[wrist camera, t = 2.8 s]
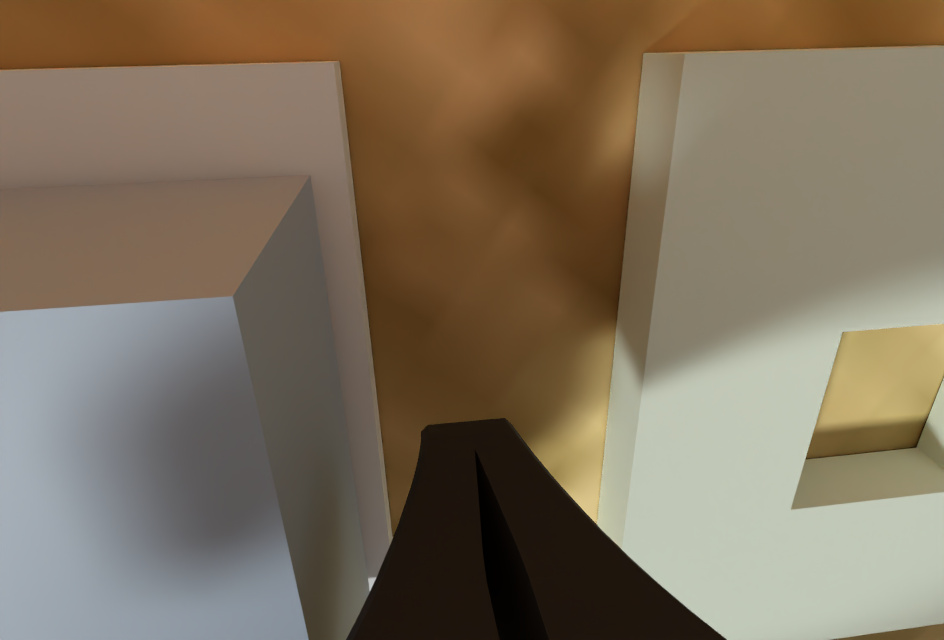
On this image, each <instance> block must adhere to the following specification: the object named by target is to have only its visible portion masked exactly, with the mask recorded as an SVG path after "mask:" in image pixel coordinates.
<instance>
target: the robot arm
mask: <svg viewBox="0 0 944 640" xmlns="http://www.w3.org/2000/svg"><path fill="white" fill-rule="evenodd" d="M346 640H727V639H726V638H724V637H723V636H722V635H721V634H719V633H718V632H717V631H716V630H714V629H713V628H712V627H711V626H709V625H708V624H707V623H705V622H704V621H703V620H702V619H700V618H699V617H698V616H697V615H695V614H694V613H693V612H692V611H690V610H689V609H688V608H687V607H686V606H685V605H683V604H682V603H681V602H680V601H679V600H677V599H676V598H675V597H674V596H673V595H672V594H670V593H669V592H668V591H667V590H666V589H665V588H663V587H662V586H661V585H660V584H659V583H658V582H656V581H655V580H654V579H653V578H652V577H651V576H650V575H649V574H648V573H646V572H645V571H644V570H643V569H642V568H641V567H640V566H639V565H638V564H637V563H636V562H634V561H633V560H632V559H631V558H630V557H629V556H628V555H627V554H626V553H625V552H624V551H623V550H622V549H621V548H620V547H619V546H618V545H617V544H616V543H615V542H614V541H613V540H612V539H611V538H610V537H609V536H608V535H607V534H605V533H604V532H603V531H602V530H601V529H600V527H599V526H598V525H597V524H596V523H595V522H594V521H593V520H592V519H591V518H590V517H589V516H588V515H587V514H586V513H585V512H584V511H583V510H582V509H581V507H580V506H579V505H578V504H577V503H576V502H575V501H574V500H573V499H572V498H571V497H570V495H569V494H568V493H567V492H566V491H565V490H564V489H563V488H562V487H561V486H560V484H559V483H558V482H557V481H556V480H555V479H554V477H553V476H552V475H551V474H550V473H549V472H548V470H547V469H546V468H545V467H544V466H543V464H542V463H541V462H540V461H539V459H538V458H537V457H536V456H535V455H534V453H533V452H532V451H531V449H530V448H529V447H528V446H527V444H526V443H525V442H524V440H523V439H522V438H521V436H520V435H519V434H518V432H517V431H516V430H515V428H514V427H513V425H512V424H511V423H510V422H509V421H508V420H506V419H505V418H501V419H490V420H479V421H468V422H456V423H445V424H434V425H428V426H427V427H426V428H425V429H424V430H423V431H421V445H420V452H419V458H418V462H417V467H416V470H415V474H414V478H413V482H412V485H411V488H410V491H409V494H408V497H407V500H406V503H405V506H404V509H403V512H402V515H401V518H400V521H399V524H398V527H397V529H396V532H395V534H394V537H393V539H392V542H391V544H390V546H389V549H388V551H387V553H386V556H385V558H384V561H383V563H382V565H381V568H380V570H379V573H378V575H377V577H376V580H375V582H374V584H373V586H372V588H371V590H370V593H369V595H368V597H367V599H366V601H365V603H364V605H363V607H362V609H361V611H360V613H359V615H358V617H357V619H356V621H355V623H354V625H353V627H352V629H351V631H350V633H349V635H348V637H347V639H346Z"/></svg>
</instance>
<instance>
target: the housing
mask: <svg viewBox="0 0 944 640" xmlns="http://www.w3.org/2000/svg"><path fill="white" fill-rule="evenodd" d="M369 593H370V589H369V582H368V575H367V568H366V561H365V554H364V547H363V540H362V533H361V526H360V519H359V512H358V505H357V498H356V491H355V484H354V477H353V470H352V463H351V456H350V449H349V442H348V435H347V428H346V421H345V414H344V407H343V400H342V393H341V386H340V379H339V372H338V365H337V358H336V351H335V344H334V337H333V330H332V323H331V316H330V309H329V302H328V295H327V288H326V281H325V274H324V267H323V260H322V253H321V246H320V239H319V232H318V225H317V218H316V211H315V204H314V197H313V190H312V183H311V176H310V175H297V176H276V177H254V178H233V179H211V180H190V181H168V182H146V183H125V184H103V185H82V186H60V187H38V188H17V189H0V640H346V639H347V637H348V635H349V633H350V631H351V629H352V627H353V625H354V623H355V621H356V619H357V617H358V615H359V613H360V611H361V609H362V607H363V605H364V603H365V601H366V599H367V597H368V595H369Z"/></svg>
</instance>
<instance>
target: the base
mask: <svg viewBox="0 0 944 640" xmlns="http://www.w3.org/2000/svg"><path fill="white" fill-rule="evenodd" d="M297 175H310V176H311V183H312V190H313V197H314V204H315V211H316V218H317V225H318V232H319V239H320V246H321V253H322V260H323V267H324V274H325V281H326V288H327V295H328V302H329V309H330V316H331V323H332V330H333V337H334V344H335V351H336V358H337V365H338V372H339V379H340V386H341V393H342V400H343V407H344V414H345V421H346V428H347V435H348V442H349V449H350V456H351V463H352V470H353V477H354V484H355V491H356V498H357V505H358V512H359V519H360V526H361V533H362V540H363V547H364V554H365V561H366V568H367V575H368V582H369V589H370V590H371V588H372V586H373V584H374V582H375V580H376V577H377V575H378V573H379V570H380V568H381V565H382V563H383V561H384V558H385V556H386V553H387V551H388V549H389V546H390V544H391V542H392V539H393V537H392V528H391V519H390V510H389V501H388V492H387V483H386V474H385V465H384V456H383V447H382V438H381V429H380V420H379V411H378V402H377V393H376V384H375V375H374V366H373V357H372V348H371V339H370V330H369V321H368V312H367V303H366V294H365V285H364V276H363V267H362V258H361V249H360V240H359V231H358V222H357V213H356V204H355V196H354V187H353V178H352V169H351V160H350V151H349V142H348V133H347V124H346V115H345V106H344V97H343V88H342V79H341V70H340V61H316V62H278V63H240V64H201V65H163V66H124V67H86V68H48V69H9V70H0V189H17V188H38V187H60V186H82V185H103V184H125V183H146V182H168V181H190V180H211V179H233V178H254V177H276V176H297Z"/></svg>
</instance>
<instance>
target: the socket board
mask: <svg viewBox="0 0 944 640" xmlns="http://www.w3.org/2000/svg"><path fill="white" fill-rule="evenodd" d="M933 324H944V45H930V46H892V47H853V48H815V49H777V50H738V51H700V52H662V53H644V54H643V64H642V74H641V84H640V94H639V104H638V114H637V125H636V135H635V145H634V155H633V165H632V175H631V185H630V196H629V206H628V216H627V226H626V236H625V246H624V256H623V266H622V277H621V287H620V297H619V307H618V317H617V327H616V337H615V347H614V358H613V368H612V378H611V388H610V398H609V408H608V418H607V428H606V439H605V449H604V459H603V469H602V479H601V489H600V499H599V509H598V520H597V525H598V526H599V527H600V529H601V530H602V531H603V532H604V533H605V534H607V535H608V536H609V537H610V538H611V539H612V540H613V541H614V542H615V543H616V544H617V545H618V546H619V547H620V548H621V549H622V550H623V551H624V552H625V553H626V554H627V555H628V556H629V557H630V558H631V559H632V560H633V561H634V562H636V563H637V564H638V565H639V566H640V567H641V568H642V569H643V570H644V571H645V572H646V573H648V574H649V575H650V576H651V577H652V578H653V579H654V580H655V581H656V582H658V583H659V584H660V585H661V586H662V587H663V588H665V589H666V590H667V591H668V592H669V593H670V594H672V595H673V596H674V597H675V598H676V599H677V600H679V601H680V602H681V603H682V604H683V605H685V606H686V607H687V608H688V609H689V610H690V611H692V612H693V613H694V614H695V615H697V616H698V617H699V618H700V619H702V620H703V621H704V622H705V623H707V624H708V625H709V626H711V627H712V628H713V629H714V630H716V631H717V632H718V633H719V634H721V635H722V636H723V637H724V638H726V639H727V640H831V639H838V638H845V637H852V636H859V635H866V634H873V633H880V632H887V631H894V630H901V629H908V628H915V627H922V626H929V625H936V624H943V623H944V378H943V381H942V384H941V386H940V389H939V391H938V394H937V396H936V399H935V401H934V404H933V406H932V409H931V412H930V414H929V417H928V419H927V422H926V424H925V427H924V429H923V432H922V434H921V437H920V439H919V442H918V445H917V447H916V448H909V449H900V450H891V451H881V452H872V453H863V454H853V455H844V456H834V457H825V458H816V459H806V455H807V452H808V448H809V445H810V442H811V438H812V435H813V431H814V428H815V424H816V421H817V418H818V414H819V411H820V407H821V404H822V400H823V397H824V394H825V390H826V387H827V383H828V380H829V376H830V373H831V370H832V366H833V363H834V359H835V356H836V352H837V349H838V346H839V342H840V339H841V335H842V332H848V331H860V330H872V329H885V328H897V327H909V326H921V325H933ZM805 459H806V460H805Z"/></svg>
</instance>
